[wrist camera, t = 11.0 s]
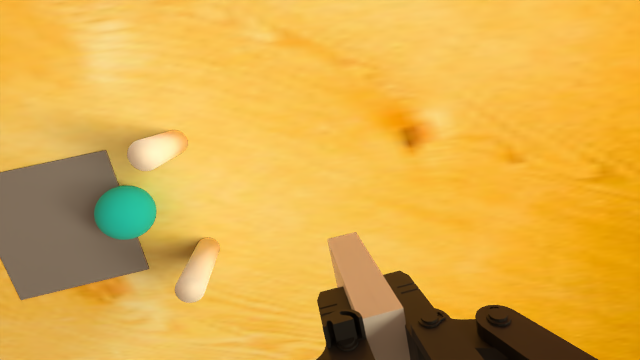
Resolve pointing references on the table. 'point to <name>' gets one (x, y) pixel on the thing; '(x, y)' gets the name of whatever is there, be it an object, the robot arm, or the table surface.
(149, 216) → the ball
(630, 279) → the table surface
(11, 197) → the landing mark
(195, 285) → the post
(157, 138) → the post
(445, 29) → the table surface
